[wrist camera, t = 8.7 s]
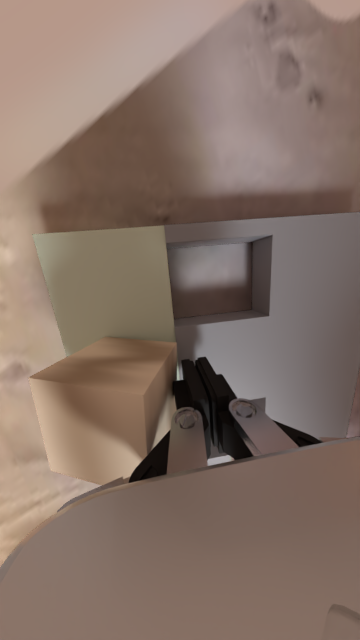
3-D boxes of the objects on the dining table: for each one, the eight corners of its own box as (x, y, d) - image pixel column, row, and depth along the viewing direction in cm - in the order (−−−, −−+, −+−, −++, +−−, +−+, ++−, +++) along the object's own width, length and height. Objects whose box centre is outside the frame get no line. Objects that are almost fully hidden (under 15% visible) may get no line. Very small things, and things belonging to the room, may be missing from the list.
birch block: (176, 342, 11) (143, 395, 6) (177, 410, 12) (149, 498, 7) (104, 336, 12) (28, 377, 7) (112, 399, 13) (50, 471, 8)
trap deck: (351, 221, 14) (390, 209, 12) (322, 419, 19) (345, 440, 17) (56, 242, 12) (30, 233, 10) (110, 458, 17) (103, 488, 15)
